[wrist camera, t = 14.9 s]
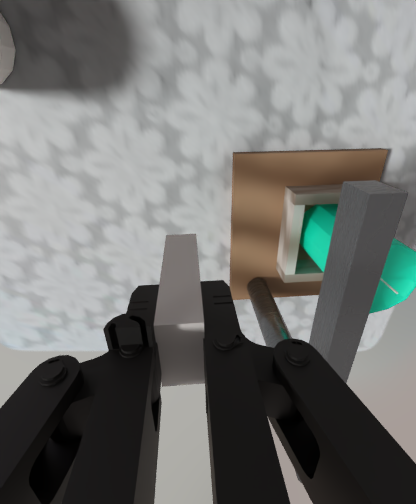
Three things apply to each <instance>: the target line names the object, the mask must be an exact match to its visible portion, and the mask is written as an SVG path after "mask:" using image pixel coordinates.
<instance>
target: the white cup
mask: <svg viewBox="0 0 416 504" xmlns="http://www.w3.org/2000/svg"><path fill="white" fill-rule="evenodd" d="M15 52H16V49H15V46H14V42H13V38H12V35H11V31H10V27H9V25H8V24H7V22H6V21H5V19H4V18H3V16H2V15H1V13H0V84H2V83H3V82H4V81H5V80H6V78H7V77H8V76H9V75H10V73H11V72H12V71H13V66H14V59H15Z"/></svg>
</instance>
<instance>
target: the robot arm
mask: <svg viewBox="0 0 416 504" xmlns="http://www.w3.org/2000/svg"><path fill="white" fill-rule="evenodd" d="M104 333H105V337H106V341H107V345H108V349H109V351H108V352H107V353H105V354H104V355H102V356H100V357H97V358H95V359H91V360H88V361H85V362H82V363H79V362H78V361H77V359H76V358H74V357H71V356H69V355H65V356H64V355H62V356H57V357H53V358H50V359H48V360H46V361H45V362H43V363H41V364H40V365H39V366H37V367H36V368H35V369H34V370H33V371H32V372H31V373H30V374H29V376H28V377H27V378H26V379H25V380H24V381H23V383H22V384H21V385H20V386H19V387H18V388H17V390H16V391H15V392H14V393H13V394H12V395H11V397H10V398H9V399H8V400H7V401H6V402H5V404H4V405H3V406H2V407H1V408H0V504H61V503H62V504H154V497H155V483H156V469H157V457H158V442H159V430H160V416H161V395H160V387H161V382H162V387H163V386H176V385H187V384H201V383H205V388H206V413H207V422H208V435H209V436H208V437H209V450H210V465H211V479H212V493H213V504H290V501H289V497H288V493H287V490H286V486H285V482H284V478H283V475H282V471H281V467H280V463H279V459H278V456H277V452H276V448H275V444H274V440H273V437H272V434H271V429H270V426H269V422H268V418H269V420H270V422H271V424H272V426H273V428H274V430H275V432H276V434H277V435H278V437H279V439H280V441H281V443H282V445H283V447H284V449H285V451H286V453H287V455H288V457H289V459H290V460H291V462H292V464H293V466H294V468H295V470H296V472H297V474H298V476H299V478H300V480H301V482H302V483H303V485H304V487H305V489H306V491H307V493H308V495H309V497H310V499H311V501H312V502H313V504H416V464H415V463H414V461H413V460H412V459H411V458H410V457H409V456H408V455H407V453H406V452H405V451H404V450H403V449H402V448H401V446H400V445H399V444H398V443H397V442H396V441H395V439H394V438H393V437H392V436H391V435H390V434H389V433H388V431H387V430H386V429H385V428H384V427H383V426H382V425H381V423H380V422H379V421H378V420H377V419H376V418H375V416H374V415H373V414H372V413H371V412H370V411H369V410H368V408H367V407H366V406H365V405H364V404H363V403H362V402H361V400H360V399H359V398H358V397H357V396H356V395H355V393H354V392H353V391H352V390H351V389H350V388H349V387H348V385H347V384H346V383H345V382H344V381H343V380H342V378H341V377H340V376H339V375H338V374H337V373H336V372H335V370H334V369H333V368H332V367H331V366H330V365H329V363H328V362H327V361H326V360H325V359H324V358H323V357H322V355H321V354H320V353H319V352H318V351H317V350H316V349H315V348H314V347H313V346H312V345H310V344H309V343H307V342H305V341H302V340H298V339H293V338H292V339H284V340H282V341H280V342H278V343H277V345H276V346H275V347H274V348H272V347H267V346H262V345H259V344H255V343H253V342H251V341H250V340H248V339H247V338H246V337H245V336H244V334H242V332H241V330H240V326H239V322H238V318H237V314H236V311H235V307H234V304H233V299H232V295H231V291H230V287H229V286H228V285H227V284H226V283H225V282H224V281H223V280H219V281H201V282H200V273H199V262H198V251H197V240H196V234H182V235H166V241H165V248H164V255H163V262H162V270H161V277H160V284H159V285H143V286H138V287H137V288H136V290H135V291H134V292H133V293H132V295H131V298H130V302H129V305H128V309H127V312H126V314H122V315H119V316H117V317H115V318H113V319H112V320H111V321H109V322H108V323H107V325H106V326H105V328H104ZM267 416H268V418H267Z"/></svg>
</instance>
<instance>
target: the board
mask: <svg viewBox="0 0 416 504" xmlns="http://www.w3.org/2000/svg"><path fill="white" fill-rule="evenodd" d="M387 152H388V150H386V149H381V148H378V149H342V150H305V151H269V152H233V175H232V215H231V255H230V291H231V295H232V299H233V300H240V299H250V297H249V294H248V291H247V284H248V283H249V282H250V281H251V280H252V279H255V278H261V279H263V280H265V281H266V283H267V286H268V288H269V290H270V292H271V294H272V296H273V298H274V297H290V296H307V295H319V293H320V289H321V284H322V279H323V274H324V272H323V271H322V270H321V269H320V268H319V267H318V265H317V264H316V263H315V262H314V261H313V259H312V258H311V257H310V256H309V255H308V253H307V252H306V251H305V250H304V249H303V247H302V246H301V245H300V243H299V242H300V236H301V229H302V223H303V216H304V212H306V211H307V210H309V209H310V208H312V207H313V206H314V205H316V204H338V203H339V198H340V193H341V189H342V184H343V181H370V180H376V181H379V182H380V178H381V174H382V171H383V167H384V163H385V160H386V156H387Z"/></svg>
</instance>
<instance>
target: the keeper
mask: <svg viewBox="0 0 416 504" xmlns="http://www.w3.org/2000/svg"><path fill="white" fill-rule="evenodd" d="M407 195H408V192H405V191H403V190H400V189H397V188H395V187H392V186H390V185H387V184H384V183H382V182H379V181H376V180H370V181H343V184H342V189H341V193H340V198H339V203H338V208H337V212H336V217H335V222H334V227H333V232H332V236H331V241H330V246H329V251H328V255H327V260H326V265H325V270H324V274H323V279H322V284H321V289H320V293H319V298H318V303H317V308H316V312H315V317H314V322H313V327H312V331H311V336H310V341H309V344H310V345H312V346H313V347H314V348H315V349H316V350H317V351H318V352H319V353H320V354H321V355H322V357H323V358H324V359H325V360H326V361H327V362H328V363H329V365H330V366H331V367H332V368H333V369H334V370H335V372H336V373H337V374H338V375H339V376H340V377H341V378H342V380H343V381H344V382H345V383H346V382H347V379H348V376H349V373H350V370H351V367H352V364H353V361H354V358H355V355H356V352H357V349H358V346H359V343H360V339H361V336H362V333H363V330H364V327H365V324H366V321H367V318H368V315H369V312H370V309H371V306H372V303H373V299H374V296H375V293H376V290H377V287H378V284H379V281H380V278H381V275H382V272H383V269H384V266H385V263H386V260H387V256H388V253H389V250H390V247H391V244H392V241H393V238H394V235H395V232H396V229H397V226H398V223H399V220H400V217H401V213H402V210H403V207H404V204H405V201H406V198H407ZM247 291H248V294H249V297H250V300H251V302H252V305H253V308H254V311H255V314H256V317H257V320H258V323H259V326H260V329H261V332H262V334H263V337H264V340H265V343H266V346H267V347H272V348H274V347H275V346H276V345H277V343H278V342H280V341H282V340H284V339H292V337H291V335H290V333H289V331H288V328H287V326H286V324H285V322H284V320H283V318H282V316H281V313H280V311H279V309H278V307H277V305H276V303H275V301H274V298H273V296H272V294H271V292H270V290H269V288H268V286H267V283H266V281H265V280H263V279H261V278H255V279H252V280H251V281H250V282H249V283H248V284H247ZM295 471H296V470H295ZM296 475H297V478H298V480H299V481H300V482H301V480H300V478H299V476H298V474H297V472H296ZM301 483H302V482H301Z"/></svg>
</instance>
